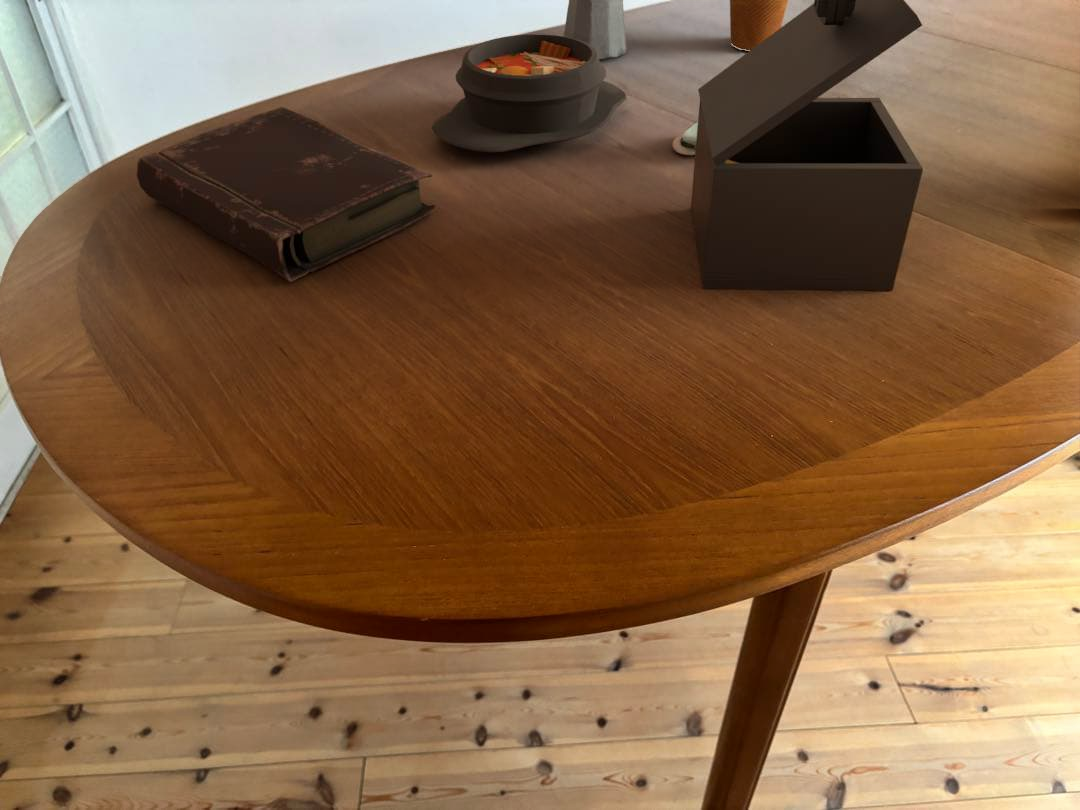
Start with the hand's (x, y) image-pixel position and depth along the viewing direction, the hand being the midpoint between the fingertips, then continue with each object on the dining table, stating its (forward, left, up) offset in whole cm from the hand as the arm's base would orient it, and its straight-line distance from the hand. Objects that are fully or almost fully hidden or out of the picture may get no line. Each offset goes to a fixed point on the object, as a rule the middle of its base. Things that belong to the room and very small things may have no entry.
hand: (831, 22), depth 72 cm
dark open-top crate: (+1, 0, -20) cm, 20 cm away
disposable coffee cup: (-3, -57, -20) cm, 60 cm away
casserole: (+26, -28, -20) cm, 43 cm away
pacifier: (+7, -22, -20) cm, 30 cm away
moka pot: (+19, -54, -20) cm, 60 cm away
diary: (+49, -7, -20) cm, 53 cm away
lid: (+2, 0, -3) cm, 4 cm away
